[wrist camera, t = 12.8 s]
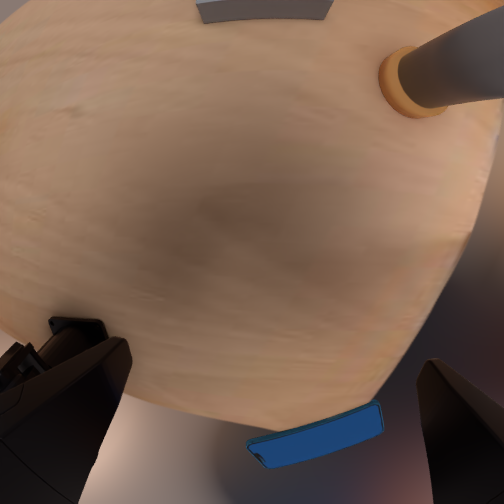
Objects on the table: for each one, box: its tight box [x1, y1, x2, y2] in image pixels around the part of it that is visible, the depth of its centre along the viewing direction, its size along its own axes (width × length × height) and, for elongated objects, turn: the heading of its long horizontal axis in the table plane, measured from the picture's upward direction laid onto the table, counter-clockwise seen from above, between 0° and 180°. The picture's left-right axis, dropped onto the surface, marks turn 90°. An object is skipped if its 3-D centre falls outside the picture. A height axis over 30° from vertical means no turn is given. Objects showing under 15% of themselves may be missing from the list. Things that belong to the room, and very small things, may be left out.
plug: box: [379, 6, 504, 118], centre depth 9 cm, size 5×5×12 cm
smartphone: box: [246, 400, 384, 469], centre depth 26 cm, size 7×1×15 cm
